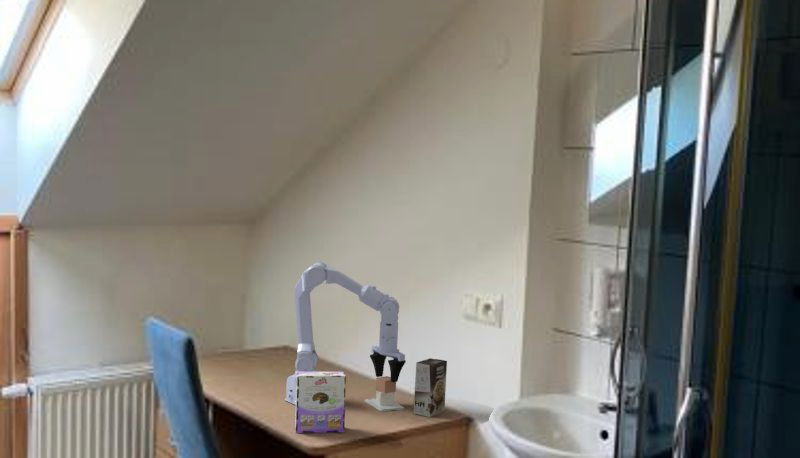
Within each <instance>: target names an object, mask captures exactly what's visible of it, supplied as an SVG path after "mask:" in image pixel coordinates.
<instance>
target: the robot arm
mask: <svg viewBox="0 0 800 458" xmlns="http://www.w3.org/2000/svg"><path fill="white" fill-rule="evenodd" d="M324 282H325V284H328V285H329V284H331V285H332V284H336V285H338V286H340V287H342V288H344V289H345V290H348V291H350V292H352V293H353V294H355V295H357V296H358V299H359V301H360V302H361V303H363V304H364V305H366V306H368V307H369V308H371V309H372V310H375V311H376V312H379V313H380V322H379V340H378V341H379V342H378V345H372V346H371V348H370V349H371V350H370V352H371V353H372V354H370V355H369V357H370V359H371V362H372V365H373V368H374V372H375V378H379V377H384V369H385V368H384V367H385V363H386V359H387V358H391V359H388V360H387V362H388V367H389V371H390V377H391V382H396V383H397V382H398V380H399V379H400V378H399V377H400V374H401V372H402V369H403V367H404V365H405V364H406V355H405V353H403V352H401V351H400V349H399V348H398V340H399V338H398V336H399V321H398V320H399V315H398V314H399V312H400V304H399V302H398V300H396V298H395V297H393V296H390V294H388V293H386V294H385V293H383V292H381V291H380V290H378V289H377V286H376V285H373V284H372V286H371V285H370V284H367V285H364V286H363V285H362V284H360V283H359V282H357V281H355V280H354V279H353V278H351V277H350V276H348V275H346V274H345V273H343V272H341V271H340V270H339V269H337V268H334V267H333V266H330V265H327V264H326V263H324V262H321V261H320V262H319V261H318V262H314V263H313V264H312V265H310V266H309V267H308V268H306V269H305V270H304V271H303V272H302V274H301V277H300V278H299V280H298V281H297V283H296V284H295V287H294V290H293V291H294V305H295V308H294V309H295V318H296V319H295V320H296V332H297V333H296V334H297V349H296V351H297V352H296V356H297V357H296V360H295V361H294V369H295V371H294V374H293V375H290V376H288V377H287V379H286V388H285V392H286V393H285V398H284V401H286V402H288V403H290V404H292V405H294V406H296V380H297V372H302V371H303V372H312V371H313V372H319V370H317V368H316V367H317V366H318V364H319V359H320V358H319V355H318V353H317V351H316V345H315V343H314V332H313V319H312V304H311V303H312V302H311V293H312V291H313V290H315V289H316V288H317V287H318V286H319V285H321V284H324Z"/></svg>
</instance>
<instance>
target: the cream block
mask: <svg viewBox="0 0 800 458" xmlns="http://www.w3.org/2000/svg"><path fill="white" fill-rule="evenodd" d="M375 392H376V393H375V398H376V402H377V403H378V404H379V405H380V406H384V405H394V402H395V392H391V393H385V394H384V393H382V392H379V391H376V390H375Z"/></svg>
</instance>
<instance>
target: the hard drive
mask: <svg viewBox="0 0 800 458" xmlns="http://www.w3.org/2000/svg"><path fill="white" fill-rule="evenodd" d="M364 402H365V403H367V404H369V405H370V406H372V407H373V408H375V409H376V410H378V411H380V412H382V413H383V412H391V411H403V410H405V409H406V408H405V407H404V406H402V405H400V404H399V403H398V402H396V401H394V405H384V406H380V405H379V404H378V403H377V402H376V397H373V398H366V399H364Z"/></svg>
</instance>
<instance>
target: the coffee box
mask: <svg viewBox="0 0 800 458" xmlns="http://www.w3.org/2000/svg"><path fill="white" fill-rule="evenodd" d="M447 368H448V361H447V360H444V359H437V358H432V357H431V358H430V357H429V358H426V359H423V360H421V361H417V362H416V364H415V378H414V379H415V383H414V396H413V397H414V399H413V401H414V402H413V414H414V415H419V416H423V417H427V418H432V417H435V416H436V415H439V414H441V413H443V412H445V407H446V389H447V370H448V369H447Z"/></svg>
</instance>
